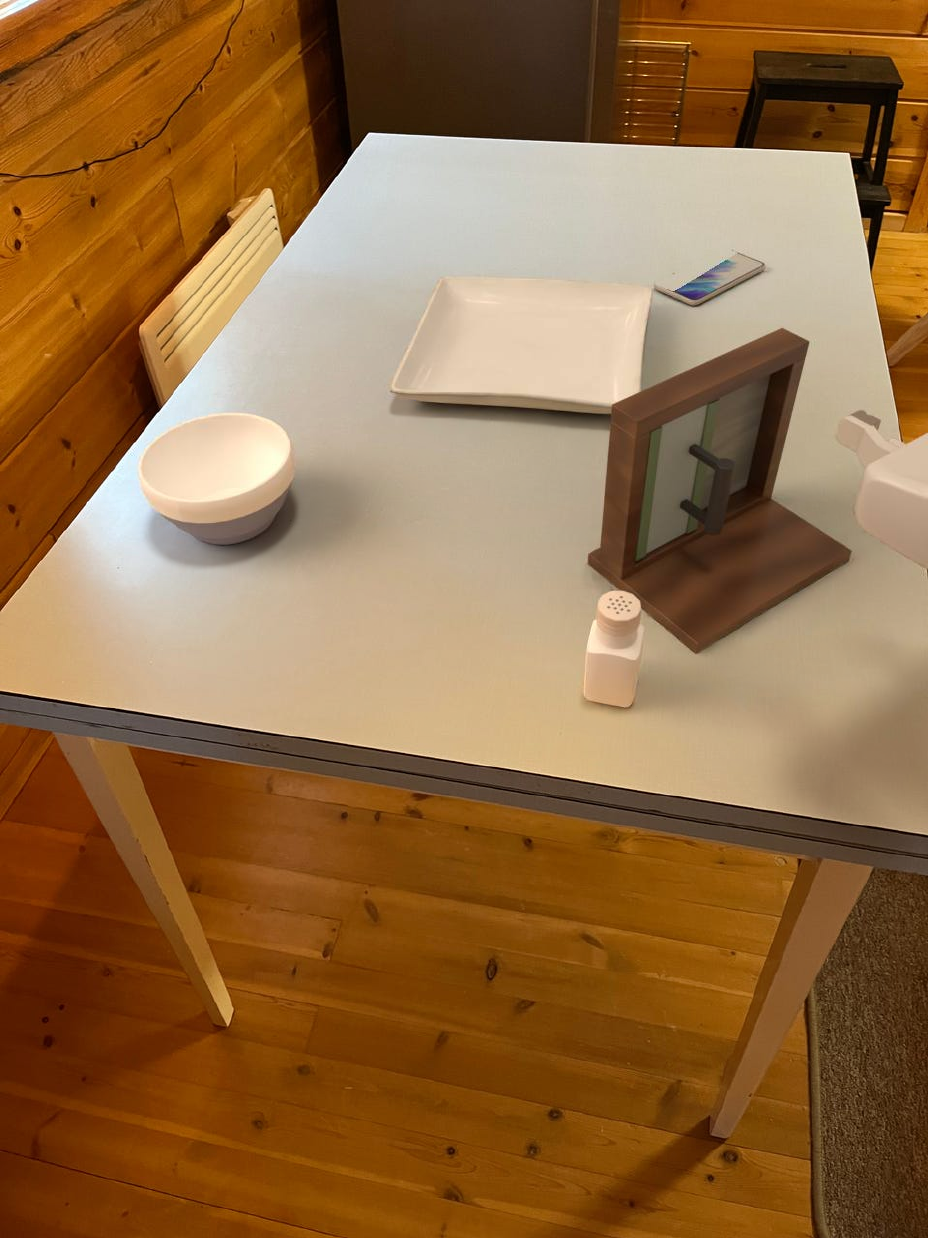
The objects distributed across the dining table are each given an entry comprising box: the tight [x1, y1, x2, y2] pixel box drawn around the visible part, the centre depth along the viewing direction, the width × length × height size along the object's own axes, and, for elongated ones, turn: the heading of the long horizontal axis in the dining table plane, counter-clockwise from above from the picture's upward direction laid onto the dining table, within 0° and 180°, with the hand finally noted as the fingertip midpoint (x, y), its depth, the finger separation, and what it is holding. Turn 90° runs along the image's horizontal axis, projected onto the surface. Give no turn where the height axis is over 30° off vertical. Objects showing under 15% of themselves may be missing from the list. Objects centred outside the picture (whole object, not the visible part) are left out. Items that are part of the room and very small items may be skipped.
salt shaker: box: [582, 590, 646, 708], centre depth 71 cm, size 4×4×10 cm
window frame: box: [587, 327, 853, 654], centre depth 78 cm, size 14×19×18 cm
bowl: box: [137, 412, 297, 545], centre depth 89 cm, size 14×14×8 cm
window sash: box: [635, 399, 735, 561], centre depth 77 cm, size 5×7×14 cm
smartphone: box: [653, 249, 766, 306], centre depth 122 cm, size 7×1×15 cm
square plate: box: [388, 276, 653, 415], centre depth 109 cm, size 27×27×4 cm
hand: (895, 398), depth 58 cm, fingers open, 8 cm apart
